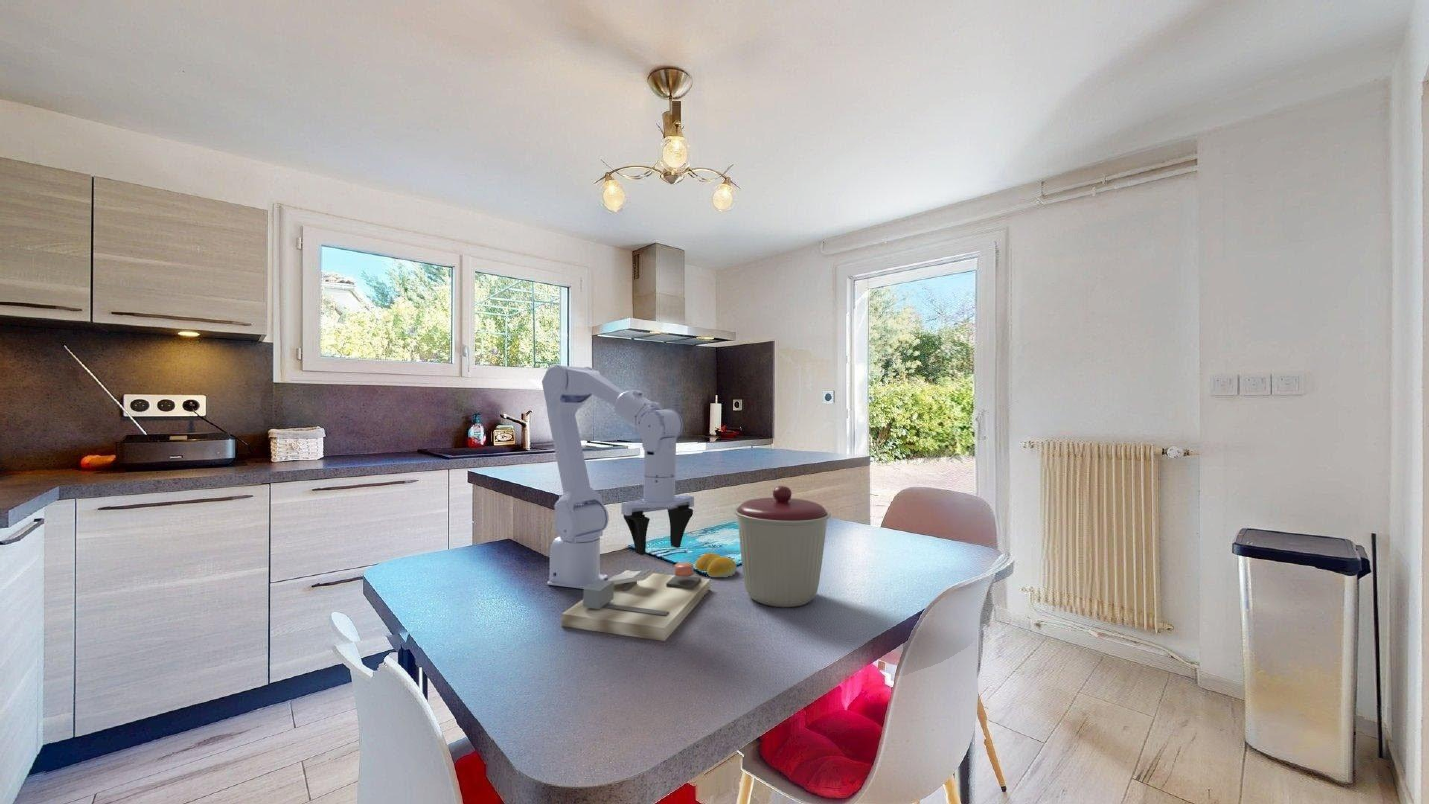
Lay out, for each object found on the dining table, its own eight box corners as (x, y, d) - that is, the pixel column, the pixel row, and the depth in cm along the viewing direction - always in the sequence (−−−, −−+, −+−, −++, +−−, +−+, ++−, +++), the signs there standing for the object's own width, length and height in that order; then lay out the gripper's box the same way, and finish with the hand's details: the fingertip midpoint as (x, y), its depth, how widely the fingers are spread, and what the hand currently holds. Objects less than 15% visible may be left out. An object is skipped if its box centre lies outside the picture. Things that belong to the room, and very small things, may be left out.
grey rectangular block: (583, 606, 89) (583, 588, 89) (597, 596, 94) (598, 579, 94) (599, 609, 88) (599, 590, 88) (613, 598, 93) (613, 581, 93)
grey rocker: (605, 586, 100) (604, 581, 100) (615, 579, 103) (614, 574, 103) (644, 579, 97) (643, 575, 97) (653, 573, 101) (652, 568, 101)
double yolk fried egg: (721, 582, 111) (721, 563, 111) (688, 573, 116) (689, 554, 116) (745, 572, 117) (745, 554, 117) (713, 564, 123) (713, 546, 123)
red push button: (671, 575, 101) (671, 567, 101) (678, 570, 105) (678, 561, 105) (689, 577, 100) (690, 569, 100) (695, 571, 104) (696, 563, 104)
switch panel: (561, 626, 87) (561, 606, 87) (625, 579, 110) (626, 564, 110) (664, 641, 82) (665, 620, 82) (709, 589, 105) (710, 573, 105)
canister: (824, 584, 110) (825, 480, 110) (835, 619, 92) (837, 495, 92) (735, 580, 111) (737, 478, 111) (729, 614, 93) (731, 492, 93)
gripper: (636, 481, 90) (635, 562, 90) (704, 475, 99) (703, 548, 99) (615, 476, 96) (614, 552, 96) (682, 470, 105) (680, 540, 105)
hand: (658, 550), depth 98 cm, fingers open, 7 cm apart
